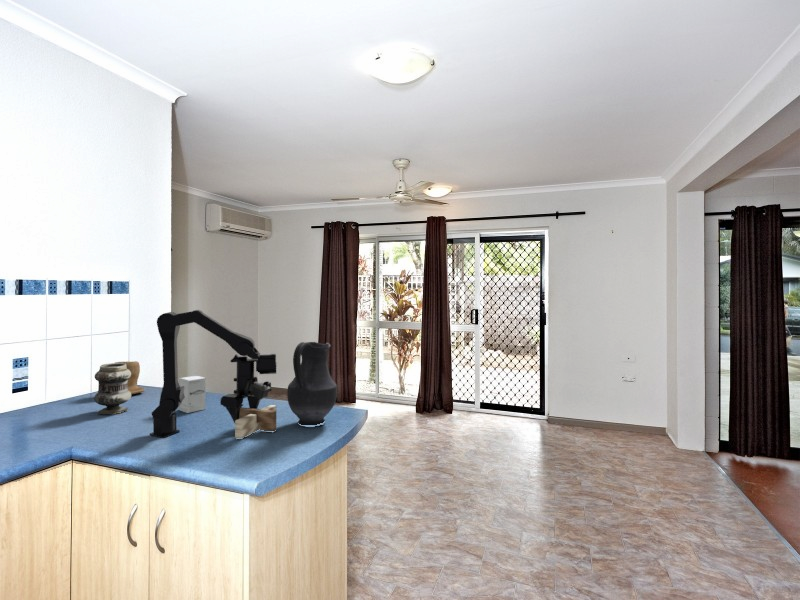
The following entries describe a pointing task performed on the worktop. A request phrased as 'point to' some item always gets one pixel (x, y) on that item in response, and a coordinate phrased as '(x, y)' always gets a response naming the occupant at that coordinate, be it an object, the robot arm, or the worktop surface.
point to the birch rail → (249, 423)
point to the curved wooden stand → (133, 376)
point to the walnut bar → (261, 417)
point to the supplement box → (193, 394)
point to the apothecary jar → (112, 387)
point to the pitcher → (311, 384)
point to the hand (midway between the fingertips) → (245, 420)
